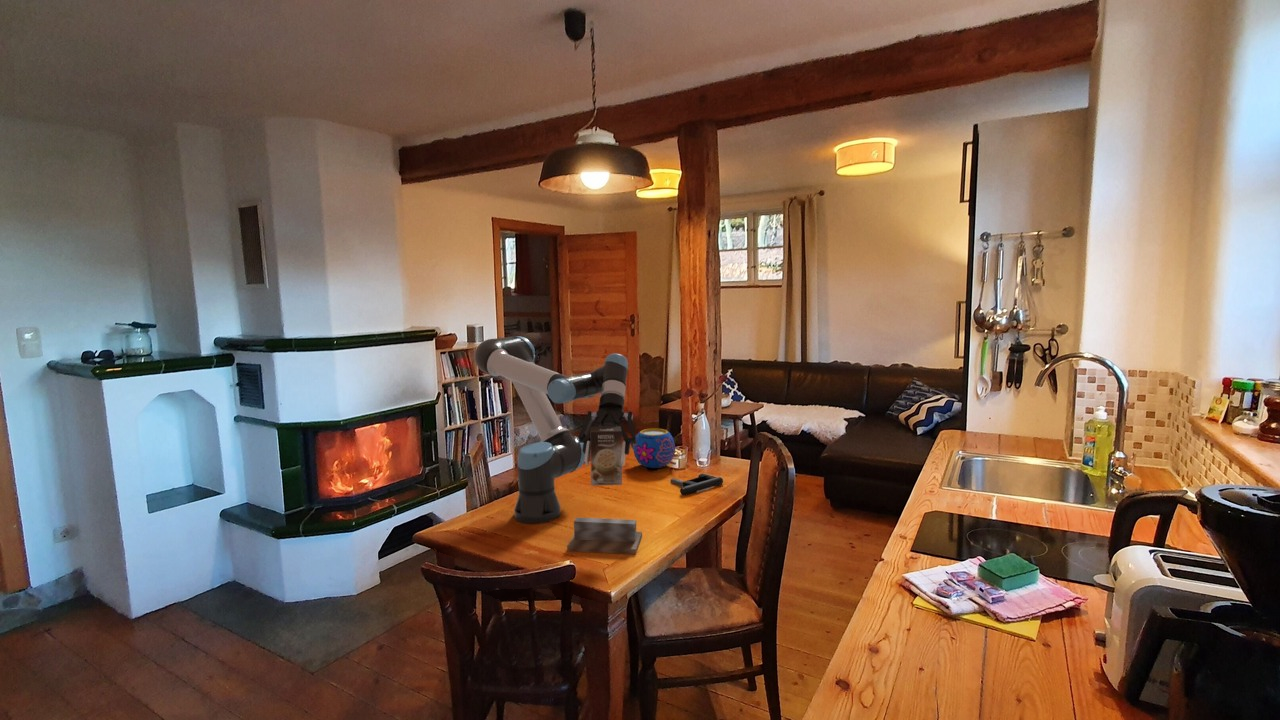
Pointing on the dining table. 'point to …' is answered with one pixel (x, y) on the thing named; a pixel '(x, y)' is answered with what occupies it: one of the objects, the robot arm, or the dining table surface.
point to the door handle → (697, 484)
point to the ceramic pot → (654, 448)
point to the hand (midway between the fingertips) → (604, 463)
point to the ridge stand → (605, 536)
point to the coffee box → (606, 455)
